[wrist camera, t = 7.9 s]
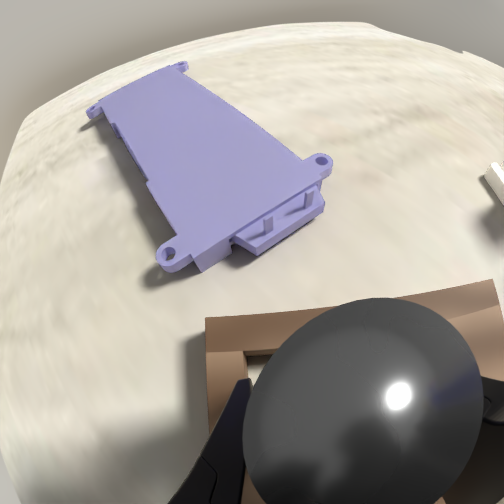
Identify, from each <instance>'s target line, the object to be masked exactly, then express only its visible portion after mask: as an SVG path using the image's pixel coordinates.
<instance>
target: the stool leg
mask: <svg viewBox="0 0 504 504" xmlns="http://www.w3.org/2000/svg"><path fill="white" fill-rule="evenodd" d="M482 416H483V386H482V380H481V375H480V371H479V367H478V365H477V362H476V359H475V357H474V354H473V353H472V351H471V349H470V347H469V345H468V343H467V342H466V341H465V339H464V338H463V336H462V335H461V334H460V332H459V331H458V330H457V329H456V328H455V327H454V326H453V325H452V324H451V323H450V322H449V321H447V320H446V319H445V318H443V317H442V316H441V315H439V314H438V313H436V312H434V311H433V310H431V309H429V308H427V307H425V306H422V305H420V304H417V303H414V302H410V301H406V300H402V299H394V298H369V299H363V300H356V301H353V302H350V303H346V304H342V305H340V306H337V307H335V308H333V309H330V310H328V311H325V312H324V313H322V314H320V315H318V316H317V317H315V318H313V319H311V320H310V321H308V322H307V323H306V324H304V325H303V326H302V327H300V328H299V329H298V330H296V331H295V332H294V333H293V334H292V335H291V336H290V337H289V338H288V339H287V340H286V341H284V342H283V343H282V345H281V346H280V347H279V348H278V349H277V351H276V352H275V353H274V354H273V355H272V356H271V358H270V359H269V361H268V362H267V364H266V365H265V367H264V368H263V370H262V371H261V373H260V375H259V377H258V379H257V381H256V383H255V385H254V387H253V390H252V392H251V395H250V398H249V401H248V404H247V408H246V413H245V417H244V422H243V437H242V441H243V453H244V459H245V463H246V467H247V471H248V474H249V476H250V478H251V481H252V483H253V485H254V487H255V489H256V490H257V492H258V494H259V495H260V497H261V498H262V500H263V501H264V502H265V503H266V504H434V503H435V502H436V501H438V500H439V499H440V498H441V497H442V496H443V495H444V494H445V493H446V492H447V491H448V489H449V488H450V487H451V486H452V485H453V483H454V482H455V481H456V480H457V478H458V477H459V475H460V474H461V472H462V471H463V469H464V468H465V466H466V464H467V462H468V460H469V458H470V456H471V454H472V452H473V450H474V447H475V444H476V442H477V439H478V435H479V431H480V427H481V423H482Z"/></svg>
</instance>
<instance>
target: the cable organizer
mask: <svg viewBox="0 0 504 504" xmlns="http://www.w3.org/2000/svg"><path fill="white" fill-rule="evenodd" d="M484 178H485V179H486V181H487V182H488V184H489V185H490V186H491V188H492V189H493V191H494V192H495V194H496V195H497V197H498V198H499V200H500V201H501V203H502V204H503V206H504V161H503V162H502V164H501V165H500V167H499V165H498V164H497V163H496V162H495V163H491V165H490V166H489V168H488V169H487V171H486V172H485V174H484Z"/></svg>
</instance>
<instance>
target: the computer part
mask: <svg viewBox="0 0 504 504" xmlns="http://www.w3.org/2000/svg"><path fill="white" fill-rule="evenodd" d="M188 69H189V68H188V63H187V62H186V61H182V62H178V63H176V64H173V65H171V66H170V65H168V66H166V67H164V68H161V69H159V70H157V71H155V72H152V73H150V74H148V75H146V76H144V77H142V78H140V79H138V80H136V81H134V82H132V83H130V84H128V85H126V86H124V87H122V88H120V89H118V90H116V91H115V92H113V93H111V94H109V95H107V96H106V97H104V98H102V99H100V100H99V101H98V102H97V103H96V104H94V105H92V106H91V107H89V108H88V109H87V110H86V114H87V116H88V117H89V119H92V118H94V117H96V116H98V115H99V114H101V113H103V112H104V114H105V116H106V118H107V120H108V121H109V123H110V125H111V127H112V129H113V130H114V132H115V134H116V136H117V138H118V139H119V138H120V137H122V139H123V141H124V144H125V146H126V148H127V149H128V151H129V153H130V154H131V156H132V158H133V159H134V161H135V163H136V164H137V166H138V168H139V169H140V171H141V172H142V174H143V176H144V177H145V178H147V180H148V182H146V185H147V187H148V189H149V191H150V193H151V195H152V196H153V198H154V200H155V202H156V203H157V205H158V207H159V208H160V210H161V211H162V213H163V215H164V216H165V218H166V219H167V221H168V223H169V224H170V226H171V227H172V229H173V230H174V232H175V233H176V236H174V237H173V238H171V239H170V240H168V241H167V242H165V243H164V244H162V245H161V246H160V247H159V248H158V250H157V252H156V260H157V262H158V263H159V265H160V266H161V267H162V268H163V269H164V270H165V271H166V272H169V273H173V272H177V271H179V270H180V269H182V268H183V267H185V266H186V265H188V264H189V263H191V262H192V261H194V262H195V264H196V265H197V267H198V268H199V270H200V271H201V273H202V272H204V271H205V270H207V269H208V268H210V267H212V266H213V265H215V264H216V263H218V262H219V261H221V260H222V259H224V258H225V257H227V256H228V255H230V254H231V253H232V250H231V245H232V244H233V245H235V244H236V243H237V244H239V245H240V246H242V247H243V248H245V249H247V250H248V251H250V252H251V253H253V254H255V255H256V256H258V255H259V254H261V253H262V252H264V251H265V250H267V249H268V248H270V247H271V246H273V245H274V244H276V243H277V242H279V241H280V240H282V239H283V238H285V237H286V236H288V235H289V234H291V233H292V232H294V231H295V230H297V229H298V228H300V227H301V226H303V225H304V224H306V223H307V222H309V221H310V220H312V219H313V218H315V217H316V216H318V215H319V214H321V213H322V212H323V210H324V206H325V201H324V199H323V197H322V195H321V193H320V189H321V183H322V180H323V179H325V178H326V177H328V176H329V175H330V174H331V171H332V166H333V160H332V158H331V157H330V156H328V155H326V154H323V153H317V154H314V155H312V156H310V157H308V158H306V159H305V160H303V161H302V160H301V159H300V158H299V157H298V156H296V155H295V154H294V153H293V152H292V151H290V150H289V149H288V148H287V147H285V146H284V145H283V144H282V143H280V142H279V141H278V140H277V139H275V138H274V137H273V136H272V135H270V134H269V133H268V132H266V131H265V130H264V129H263V128H261V127H260V126H259V125H257V124H256V123H255V122H253V121H252V120H251V119H249V118H248V117H246V116H245V115H244V114H242V113H241V112H240V111H238V110H237V109H235V108H234V107H233V106H231V105H230V104H228V103H227V102H226V101H224V100H223V99H221V98H220V97H218V96H217V95H215V94H214V93H212V92H211V91H209V90H208V89H206V88H205V87H203V86H202V85H200V84H199V83H197V82H196V81H194V80H193V79H191V78H189V77H188V76H186V75H185V74H183V73H182V72H185V71H187V70H188ZM120 135H121V136H120ZM171 254H175V256H174V258H173V259H171V260H169V261H166V260H167V258H168V256H169V255H171Z"/></svg>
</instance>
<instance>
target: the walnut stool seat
mask: <svg viewBox="0 0 504 504" xmlns="http://www.w3.org/2000/svg"><path fill="white" fill-rule="evenodd" d="M394 299H402V300H406V301H410V302H414V303H417V304H420V305H422V306H425V307H427V308H429V309H431V310H433V311H434V312H436V313H438V314H439V315H441V316H442V317H443V318H445V319H446V320H447V321H449V322H450V323H451V324H452V325H453V326H454V327H455V328H456V329H457V330H458V331H459V332H460V334H461V335H462V336H463V338H464V339H465V341H466V342H467V343H468V345H469V347H470V349H471V351H472V353H473V354H474V357H475V359H476V362H477V365H478V367H479V371H480V375H481V376H484V377H488V378H492V379H496V380H500V381H504V321H503V316H502V312H501V308H500V304H499V300H498V296H497V292H496V289H495V285H494V282H493V279H489V280H485V281H481V282H476V283H472V284H467V285H462V286H457V287H452V288H447V289H442V290H437V291H432V292H426V293H421V294H415V295H409V296H403V297H397V298H394ZM335 307H337V306H333V307H325V308H316V309H307V310H298V311H288V312H277V313H265V314H253V315H239V316H224V317H206V318H205V340H206V375H207V399H208V418H209V434H211V432H212V430H213V428H214V426H215V424H216V422H217V421H218V419H219V417H220V415H221V413H222V411H223V409H224V407H225V405H226V403H227V400H228V398H229V396H230V394H231V392H232V390H233V388H234V386H235V384H236V382H237V381H238V380H239V379H244V378H248V369H247V356H260V355H273V354H274V353H275V352H276V351H277V349H278V348H279V347H280V346H281V345H282V343H283V342H284V341H286V340H287V339H288V338H289V337H290V336H291V335H292V334H293V333H294V332H295V331H296V330H298V329H299V328H300V327H302V326H303V325H304V324H306V323H307V322H308V321H310V320H311V319H313V318H315V317H317V316H318V315H320V314H322V313H324V312H325V311H328V310H330V309H333V308H335ZM434 504H446V503H445V501H444V499H443V497H441V498H440V499H439V500H438V501H436V502H435V503H434Z"/></svg>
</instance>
